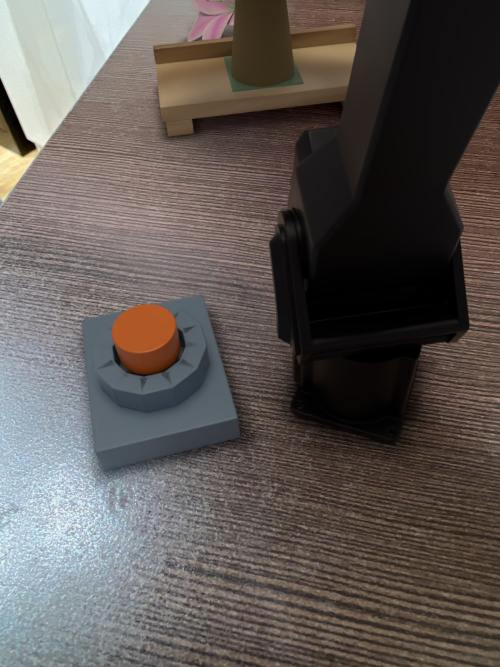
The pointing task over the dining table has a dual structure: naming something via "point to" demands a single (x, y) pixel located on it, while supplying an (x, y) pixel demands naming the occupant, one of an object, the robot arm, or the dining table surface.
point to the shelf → (234, 97)
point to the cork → (261, 43)
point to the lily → (212, 18)
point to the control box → (158, 392)
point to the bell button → (146, 339)
